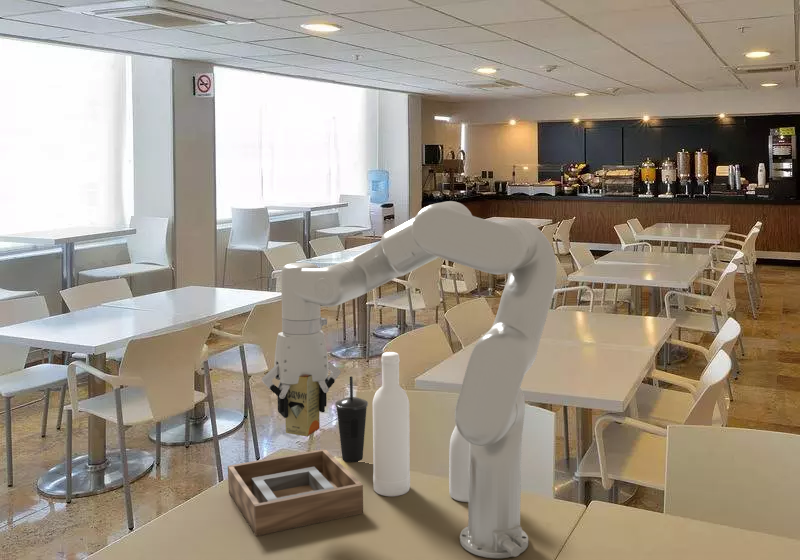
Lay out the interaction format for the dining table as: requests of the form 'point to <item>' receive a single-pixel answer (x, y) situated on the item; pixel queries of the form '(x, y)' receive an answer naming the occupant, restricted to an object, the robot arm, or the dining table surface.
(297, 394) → the shoe polish box
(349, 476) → the walnut crate
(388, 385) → the bottle
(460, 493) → the milk bottle
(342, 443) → the drinking cup
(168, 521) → the dining table surface
